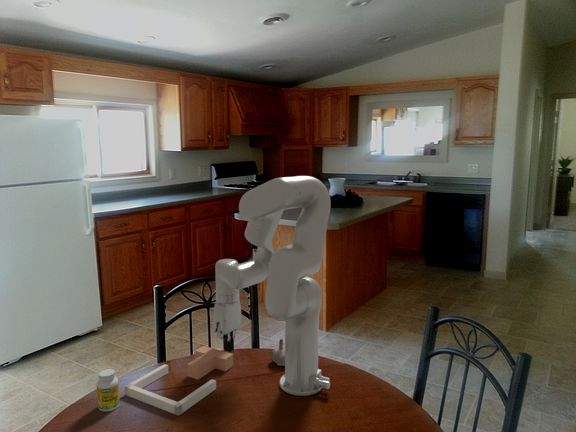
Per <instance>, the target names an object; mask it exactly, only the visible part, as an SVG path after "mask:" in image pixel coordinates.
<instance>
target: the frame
mask: <svg viewBox="0 0 576 432" xmlns="http://www.w3.org/2000/svg"><path fill="white" fill-rule="evenodd" d="M168 374H169V364H167V363H166V364H165V363H164V364H162V365H161V366H159V367H157V368H155V369H153V370H152V371H149V372H148V373H146V374H144V375H142V376H141V377H139V378H137V379H135V380H134V381H131V382H130V383H128V384H126V385H124V395H125V396H127V397H130V398H132V399H135V400H138V401H140V402H143V403H145V404H148V405H151V406H153V407H155V408H158V409H161V410H163V411H165V412H168V413H171V414H174V415H176V416H179V417H180V415H182V414H183V413H184V412H186V411H188V409H190V408H191V407H193V406H195V405H196V404H197V403H198V402H200V401H201V400H203V399H204V398H205V397H207V396H208V395H210V394H211V393H213V392H214V391H215V390H217V380H215V379H210V380H208V381H207V382H206V383H204V384H202V385H201V386H200V387H198V388H197V389H195V390H194V391H192V392H191V393H189V394H188V395H186V396H185V397H184V398H183V397H182V399H181V400H178V401H176V400H173V399H171V398H167V397H165V396H163V395H159V394H157V393H154V392H152V391H149V390H148V389H147V390H146V389H144V388H145V387H147V386H149V385H151V384H152V383H154V382H155V381H158V380H159V379H161V378H162V377H164V376H166V375H168Z"/></svg>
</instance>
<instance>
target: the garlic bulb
mask: <svg viewBox="0 0 576 432" xmlns="http://www.w3.org/2000/svg"><path fill="white" fill-rule="evenodd" d="M278 346H279V347H275V348H274V349H272V350H271V352H270V359H271V360H272V362H274V363H275V364H276V365H277V366H279V367H283V366H284V367H285V347H284V339H283V338H280V339H279V343H278Z"/></svg>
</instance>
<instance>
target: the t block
mask: <svg viewBox="0 0 576 432" xmlns="http://www.w3.org/2000/svg"><path fill="white" fill-rule="evenodd" d="M194 353H195V354H194V355H195V359H193V360H192V361H190V362H187V365H186V366H187V367H186V368H187V377H188V378H192V379H195V380H200V379H201V378H202V377H204V376H206V375H207V374H209V373H210V372H212V371H214V370H216V369H217V370H219V371H223V372H227V371H228V370H230V369H231V368H233V367H234V353H232V352H227V351H224V350H220V349H215V348H212V347H209V346H205V345H203V346H202V347H200V348H197V349H196V350H195V352H194Z"/></svg>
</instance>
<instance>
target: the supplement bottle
mask: <svg viewBox="0 0 576 432" xmlns="http://www.w3.org/2000/svg"><path fill="white" fill-rule="evenodd" d="M96 396H97V397H96V398H97V408H98V410H99V411H101V412H111V411H115V410H116V409H117V408H119V406H120V404H121V401H120V386H119V379H118V378H117V377H116V371H115V369H113V368H112V369H111V368H108V369H107V368H106V369H103V370H101V371H99V372H98V381H97V382H96Z"/></svg>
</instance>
